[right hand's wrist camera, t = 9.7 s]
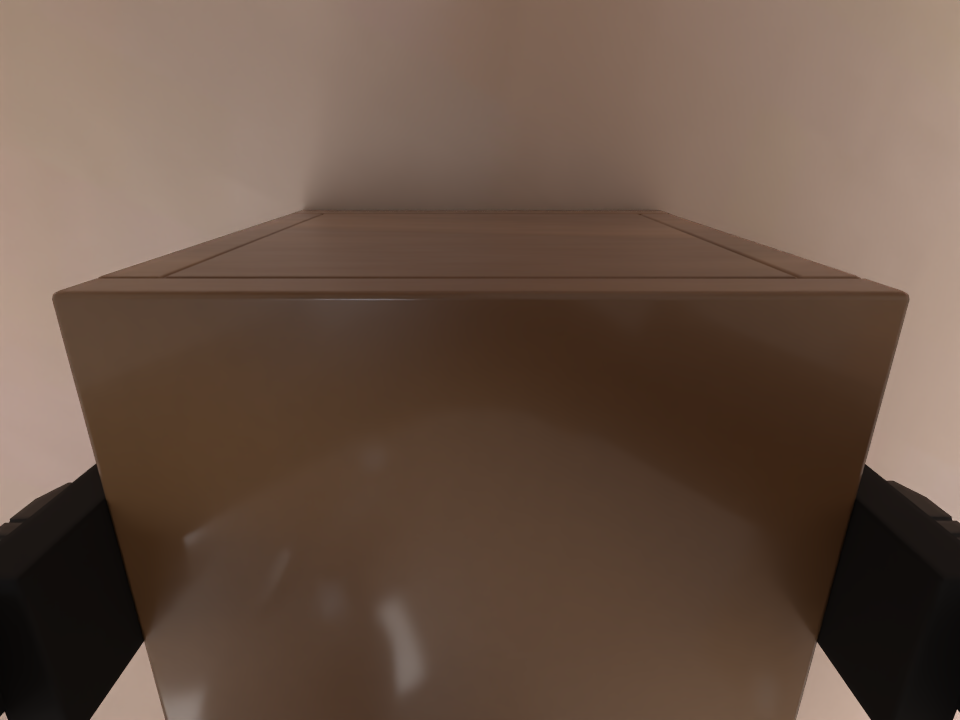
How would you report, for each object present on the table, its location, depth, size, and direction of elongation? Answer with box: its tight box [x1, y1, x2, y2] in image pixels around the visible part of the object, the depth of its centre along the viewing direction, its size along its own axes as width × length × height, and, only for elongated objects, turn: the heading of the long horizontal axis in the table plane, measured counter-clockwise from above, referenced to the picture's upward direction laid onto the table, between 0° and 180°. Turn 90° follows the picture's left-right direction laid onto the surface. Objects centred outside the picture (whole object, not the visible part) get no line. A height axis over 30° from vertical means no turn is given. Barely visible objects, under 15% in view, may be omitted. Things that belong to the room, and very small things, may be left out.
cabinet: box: [52, 210, 909, 720], centre depth 16 cm, size 21×11×11 cm, turn 0°
